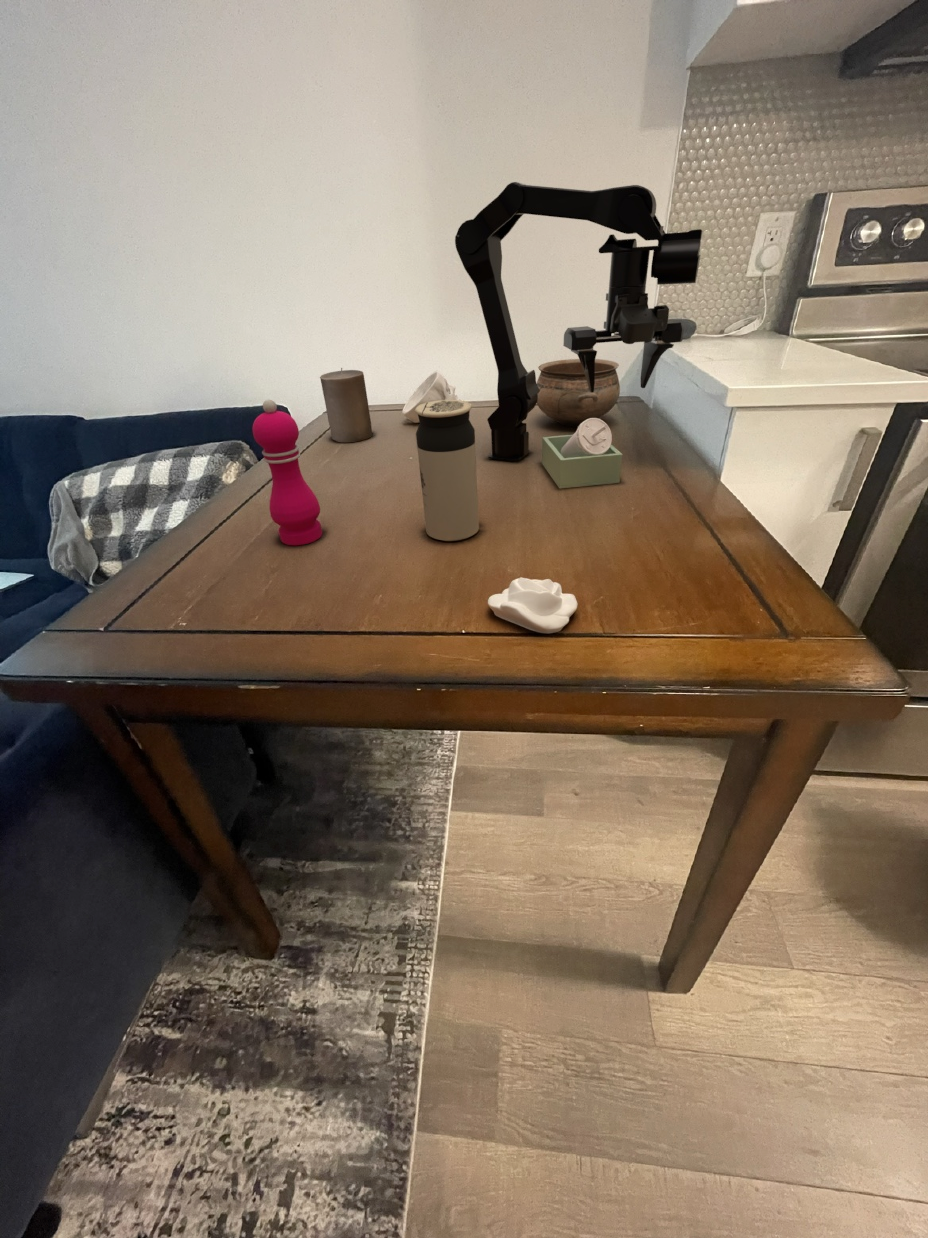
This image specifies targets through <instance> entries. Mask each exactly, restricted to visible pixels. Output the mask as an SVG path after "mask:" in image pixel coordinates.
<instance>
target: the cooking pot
mask: <svg viewBox="0 0 928 1238" xmlns="http://www.w3.org/2000/svg"><path fill="white" fill-rule="evenodd" d="M619 366H620V364H619V363H618V362H616V361H613V360H609V359H601V358H595V386H594V392H593V393H591V392H590V390H589V387H588V383H587V380H586V377H585V373H584V370H583V367H582V364H581V362H580V359H579V358H569V359H560V360H553V361H548V362H545V363H542V364H539V366H537V367H538V371H540V373H539V376H538V378H537V379H536V384H537V386H538V388H539V389H540V392H539V393H538V394H537V395H538V400H537V403H536V405H537V407H538V408H539V410H540V411H541V412H542V413H543V414H545V415H546V416H547V417H549V418H551V419H552V420H555V421H556V422H558V423H559V424H560V425H562V426H565V427H579V425H580V424H581V423H582V422H584V421H585V420H587V419H589V418H598V419H600V418H601V417H603V416H604V415H606V414H607V413H608V412H610V411H611V410H612V409H613V408H614V406H615V405H616V404H617V402H618V401H619V397H620V393H621V385H620V380H619V375H618V372H617V369H618V368H619Z"/></svg>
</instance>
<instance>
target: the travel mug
mask: <svg viewBox="0 0 928 1238" xmlns="http://www.w3.org/2000/svg"><path fill="white" fill-rule="evenodd" d="M461 400H462V399H461ZM461 400H439V401H432V402H427V403H424V404H421V405H419V406H417V407H416V409H415V412H416V413H417V414H418V417H419V421H420V423H418V424H419V425H418V427H417V430H416V433H415V439H416V448H417V456H418V457H417V458H418V466H419V477H420V483H421V484H420V485H421V495H422V505H423V511H424V512H423V515H424V523H425V531H426V534H427V535H428V536H429V537H430V538H432V539H435V540H440V541H444V542H456V541H462V540H465V539H468V538H470V537H472V536H474V535H475V534H477V533H478V532H479V529H480V518H479V517H480V516H479V495H478V476H477V453H476V452H477V451H476V432H475V431H476V430H475V428H474V426H473V424H472V422H471V420H470V412H471V410H472V407H473V406H472V404H471V403H470V402H468V401H465V400H462V401H461Z"/></svg>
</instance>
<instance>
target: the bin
mask: <svg viewBox="0 0 928 1238" xmlns="http://www.w3.org/2000/svg"><path fill="white" fill-rule="evenodd" d="M573 435H574V434H564V435H553V436H542V439H541V465H542V466H543V467H544V469H545V470H546V472H547V473H548V474H549V476H550V477H551V479H552V481H553V482H554V483H555V484H556V486H557V487H558V488H559V489H569V488H570V489H571V488H581V487H590V486H602V485H613V484H620V482H621V473H622V462H623V453H621V452H620V451H619V449H617V448H616V447H615V446H614V445H613V444H611V445H610V447H609V449H608V450H607V451H606V452H605V453H604V454H602V455H594V456H584V457H573V458H564V457H563V456H562V455H561V449H562V447H563V446H564V445H565V444H566V443H567V441H568V440H569V439H570V438H571V437H572V436H573Z"/></svg>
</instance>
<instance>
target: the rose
mask: <svg viewBox="0 0 928 1238" xmlns="http://www.w3.org/2000/svg"><path fill="white" fill-rule="evenodd" d="M487 606H488V608H490V609H491V610H492V612H493V615H494V616H496V617H498V618H499V619H502V620H505V621H506V622H510V623H512V624H515V625H517V626H520V627H522V628H525V629H527V630H529V631H533V632H536V633H539V634H553V633H558V632H561V631H562V630H563V628H564V627H566V625H567V624H568V623H569V622H570V617H571V616H572V615H573V614H574V613H575V612H576V610H577V609H578V600H577V599H576V596H575V595H574V594H573V593H563V588H562V585H561V584H560V583H559V582H555V581H554V582H553V581H552V579H550V578H546V579H530V578H526V577H522V576H520V577H519V578H515V579H513V580H512V581H511V582H510V583H509V586H508V588H505V589H503V591H502V592H501V593H495V594H492V595H490V596H489V598H488V599H487Z"/></svg>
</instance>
